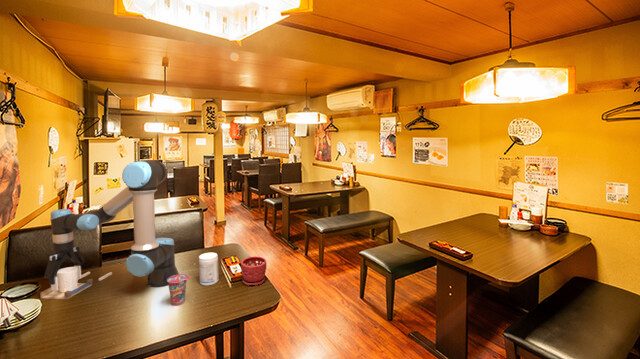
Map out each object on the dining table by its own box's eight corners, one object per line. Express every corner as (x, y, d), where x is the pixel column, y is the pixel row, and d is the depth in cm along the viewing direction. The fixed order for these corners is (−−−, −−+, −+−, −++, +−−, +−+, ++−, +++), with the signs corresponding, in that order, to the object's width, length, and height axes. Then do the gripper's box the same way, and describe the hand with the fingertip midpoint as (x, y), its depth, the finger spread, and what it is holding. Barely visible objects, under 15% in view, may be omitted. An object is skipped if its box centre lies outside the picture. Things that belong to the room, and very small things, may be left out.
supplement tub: (208, 276, 159) (207, 251, 157) (222, 279, 156) (221, 253, 154) (195, 284, 150) (194, 257, 148) (210, 287, 147) (209, 259, 145)
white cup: (66, 294, 137) (65, 274, 136) (53, 292, 138) (51, 272, 137) (83, 286, 144) (81, 267, 143) (70, 285, 146) (68, 266, 145)
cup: (168, 309, 126) (166, 283, 125) (168, 300, 134) (166, 276, 132) (191, 304, 130) (190, 279, 129) (190, 296, 138) (189, 272, 137)
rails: (112, 274, 161) (112, 272, 161) (100, 280, 153) (100, 278, 153) (88, 273, 161) (88, 271, 161) (75, 279, 153) (75, 278, 153)
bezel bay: (92, 284, 148) (92, 279, 147) (68, 299, 134) (67, 292, 134) (68, 284, 148) (67, 278, 148) (40, 298, 134) (40, 291, 134)
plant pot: (236, 285, 149) (235, 263, 148) (251, 275, 161) (251, 254, 160) (257, 290, 144) (257, 267, 143) (271, 279, 156) (271, 258, 155)
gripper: (77, 233, 150) (81, 273, 153) (29, 249, 126) (34, 296, 129) (91, 234, 150) (94, 273, 153) (46, 250, 126) (50, 296, 129)
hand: (67, 283), depth 141 cm, fingers open, 12 cm apart
